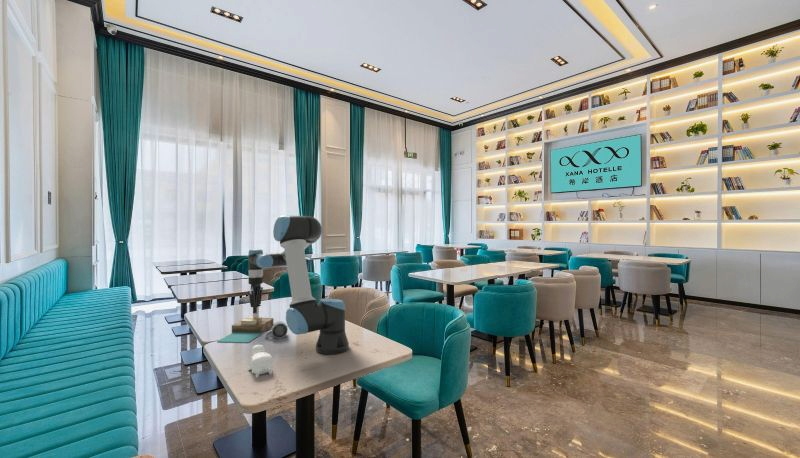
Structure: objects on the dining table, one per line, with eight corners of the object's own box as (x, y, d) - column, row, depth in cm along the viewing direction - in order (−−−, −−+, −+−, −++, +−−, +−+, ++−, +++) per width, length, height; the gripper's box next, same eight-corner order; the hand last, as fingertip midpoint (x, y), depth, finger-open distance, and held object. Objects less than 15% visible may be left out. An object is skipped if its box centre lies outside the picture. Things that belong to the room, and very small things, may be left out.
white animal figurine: (274, 380, 137) (266, 354, 149) (276, 362, 135) (268, 338, 146) (251, 385, 133) (244, 359, 144) (253, 367, 130) (246, 342, 141)
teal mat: (248, 343, 171) (248, 342, 171) (217, 342, 172) (217, 341, 172) (262, 333, 186) (262, 332, 186) (233, 333, 187) (233, 332, 187)
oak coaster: (255, 324, 188) (255, 321, 188) (240, 324, 189) (240, 320, 189) (262, 320, 196) (262, 317, 196) (248, 320, 197) (248, 316, 197)
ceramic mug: (286, 333, 187) (286, 318, 187) (287, 337, 179) (287, 322, 179) (265, 335, 183) (264, 321, 182) (265, 340, 175) (265, 325, 175)
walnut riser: (260, 333, 186) (260, 326, 186) (231, 332, 187) (231, 325, 187) (273, 324, 202) (273, 318, 202) (246, 324, 203) (246, 317, 203)
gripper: (254, 275, 204) (255, 315, 204) (243, 278, 191) (243, 321, 191) (267, 275, 203) (267, 315, 203) (256, 278, 190) (256, 321, 190)
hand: (255, 318), depth 197 cm, fingers closed
